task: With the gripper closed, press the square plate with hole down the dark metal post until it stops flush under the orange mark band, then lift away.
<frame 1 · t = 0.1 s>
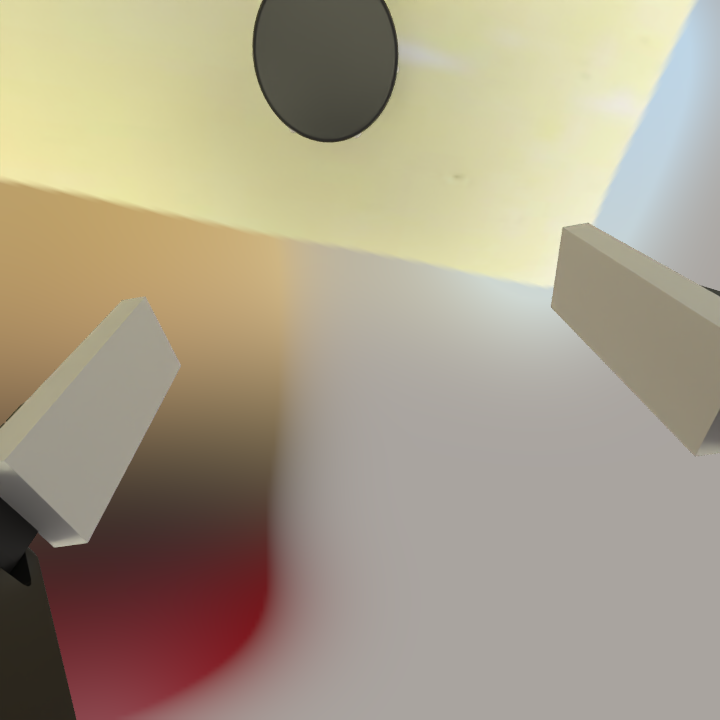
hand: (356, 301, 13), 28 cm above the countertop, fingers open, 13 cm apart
jar: (328, 66, 32), on the countertop
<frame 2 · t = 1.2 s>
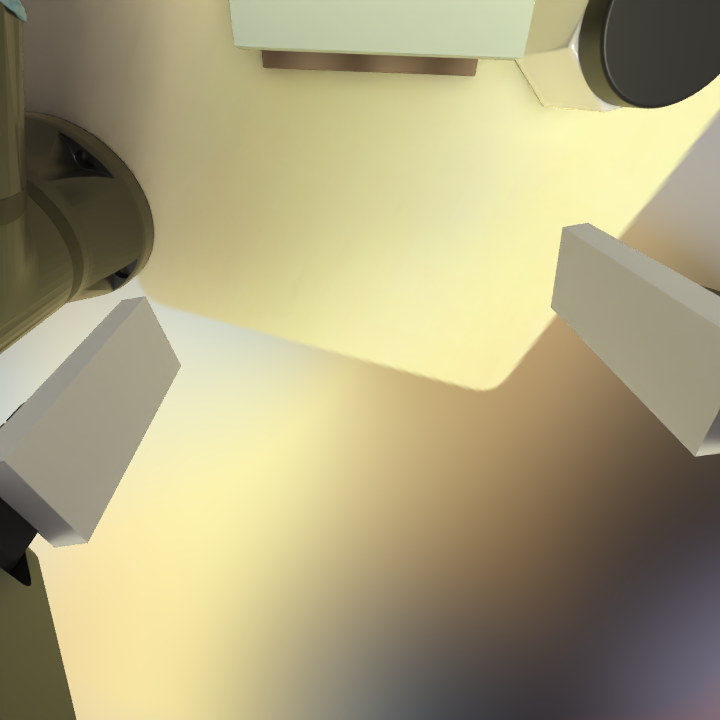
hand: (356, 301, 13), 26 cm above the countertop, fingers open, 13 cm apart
jar: (572, 38, 30), on the countertop
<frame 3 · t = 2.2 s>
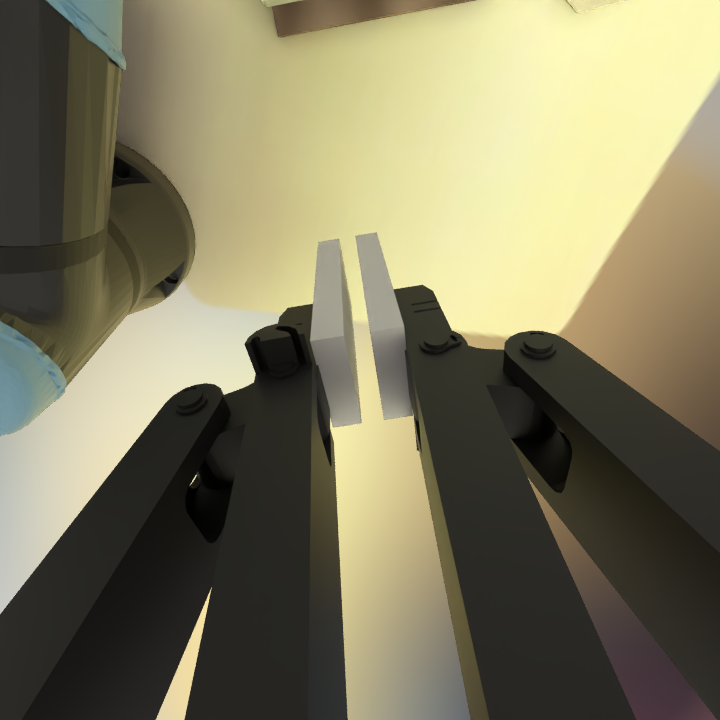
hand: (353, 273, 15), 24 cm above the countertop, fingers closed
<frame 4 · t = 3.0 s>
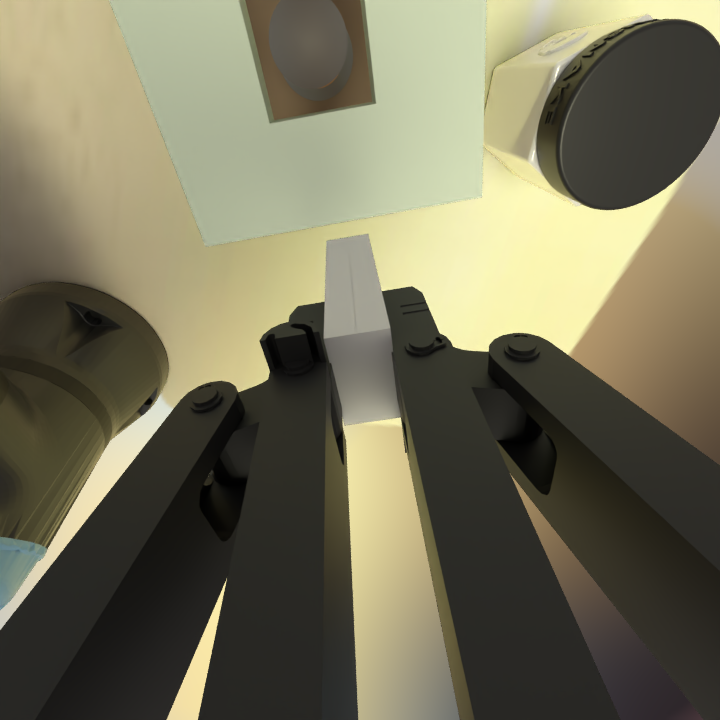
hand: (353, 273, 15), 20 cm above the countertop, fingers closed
square plate with hole: (311, 47, 18), point 11 cm above the countertop, slide at 7.0 cm
post: (316, 58, 27), on the countertop
jar: (534, 110, 29), on the countertop
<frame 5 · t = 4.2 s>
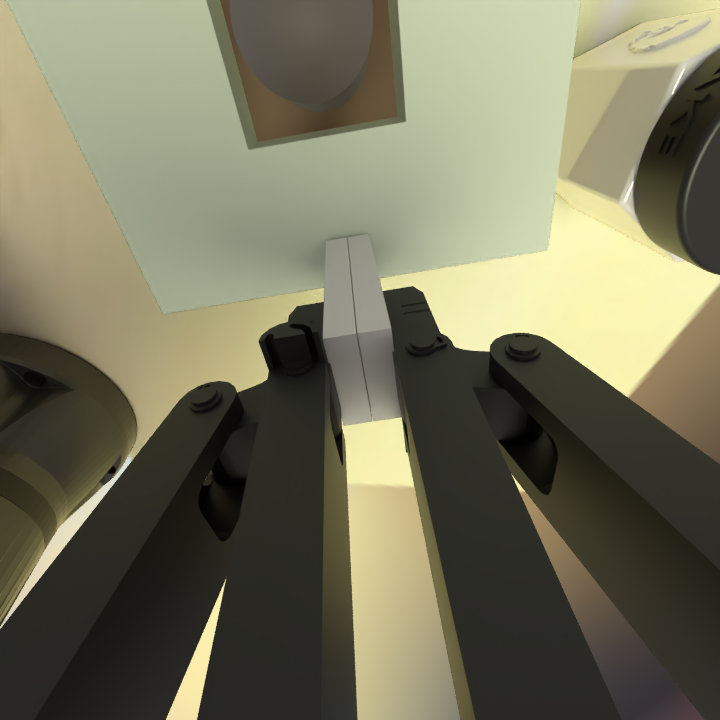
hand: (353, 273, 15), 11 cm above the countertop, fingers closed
square plate with hole: (310, 36, 12), point 10 cm above the countertop, slide at 5.9 cm, touching gripper
post: (318, 54, 20), on the countertop
jar: (601, 125, 23), on the countertop
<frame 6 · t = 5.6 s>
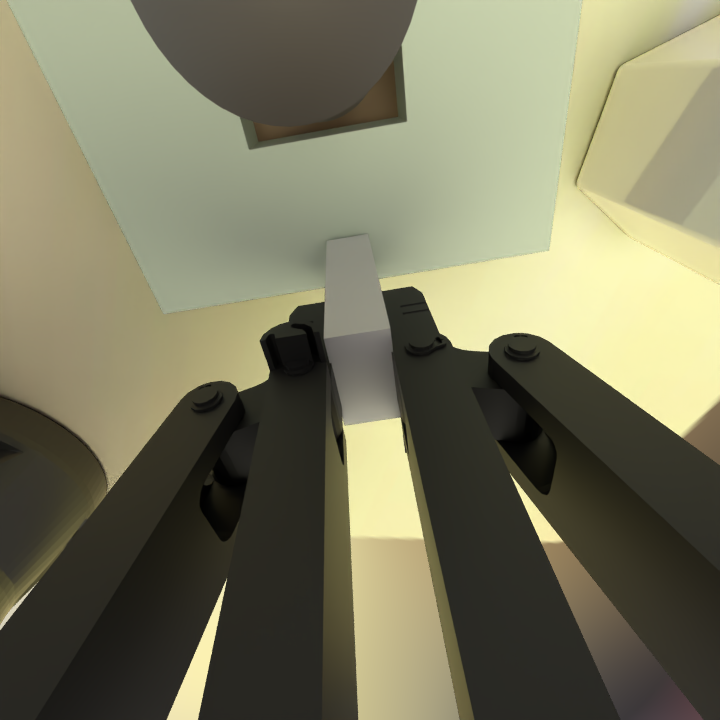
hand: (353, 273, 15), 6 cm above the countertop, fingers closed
square plate with hole: (311, 36, 12), point 4 cm above the countertop, slide at 0.3 cm, touching gripper
post: (315, 46, 15), on the countertop
jar: (671, 136, 18), on the countertop
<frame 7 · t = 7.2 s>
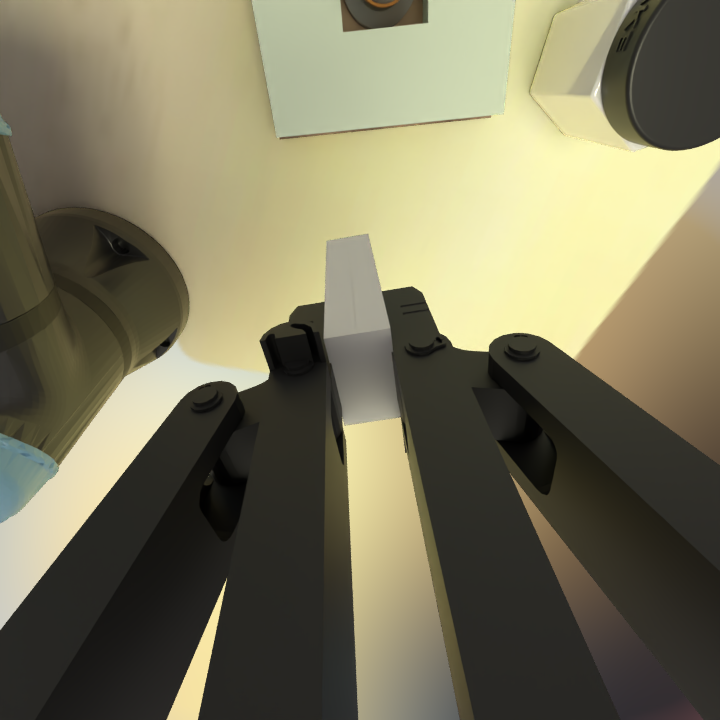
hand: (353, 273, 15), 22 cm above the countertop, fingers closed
jar: (589, 65, 29), on the countertop
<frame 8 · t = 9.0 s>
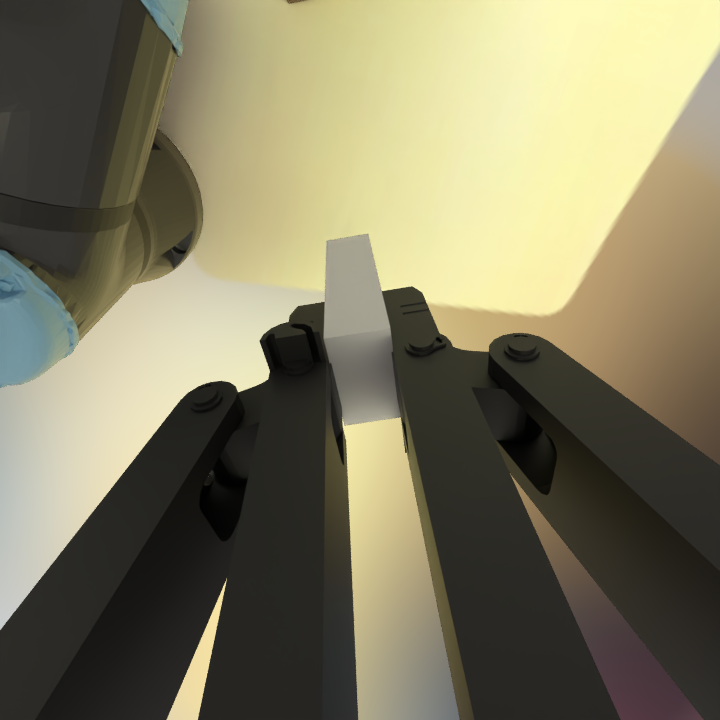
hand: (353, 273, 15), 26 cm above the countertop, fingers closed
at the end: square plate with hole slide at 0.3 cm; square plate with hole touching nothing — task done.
